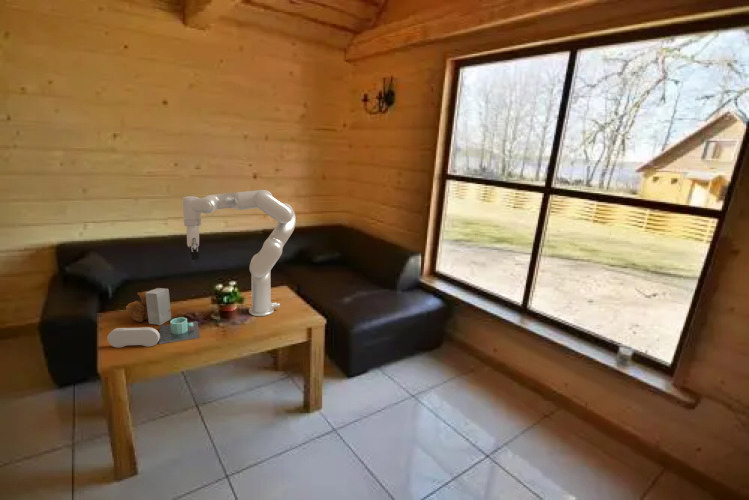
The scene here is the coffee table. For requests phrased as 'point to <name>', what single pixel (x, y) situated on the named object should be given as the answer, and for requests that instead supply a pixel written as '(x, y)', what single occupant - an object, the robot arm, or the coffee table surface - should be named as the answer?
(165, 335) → the grey plate with knob
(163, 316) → the skincare box
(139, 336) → the game controller
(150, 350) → the coffee table surface
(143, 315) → the stuffed squirrel
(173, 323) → the teal cup
